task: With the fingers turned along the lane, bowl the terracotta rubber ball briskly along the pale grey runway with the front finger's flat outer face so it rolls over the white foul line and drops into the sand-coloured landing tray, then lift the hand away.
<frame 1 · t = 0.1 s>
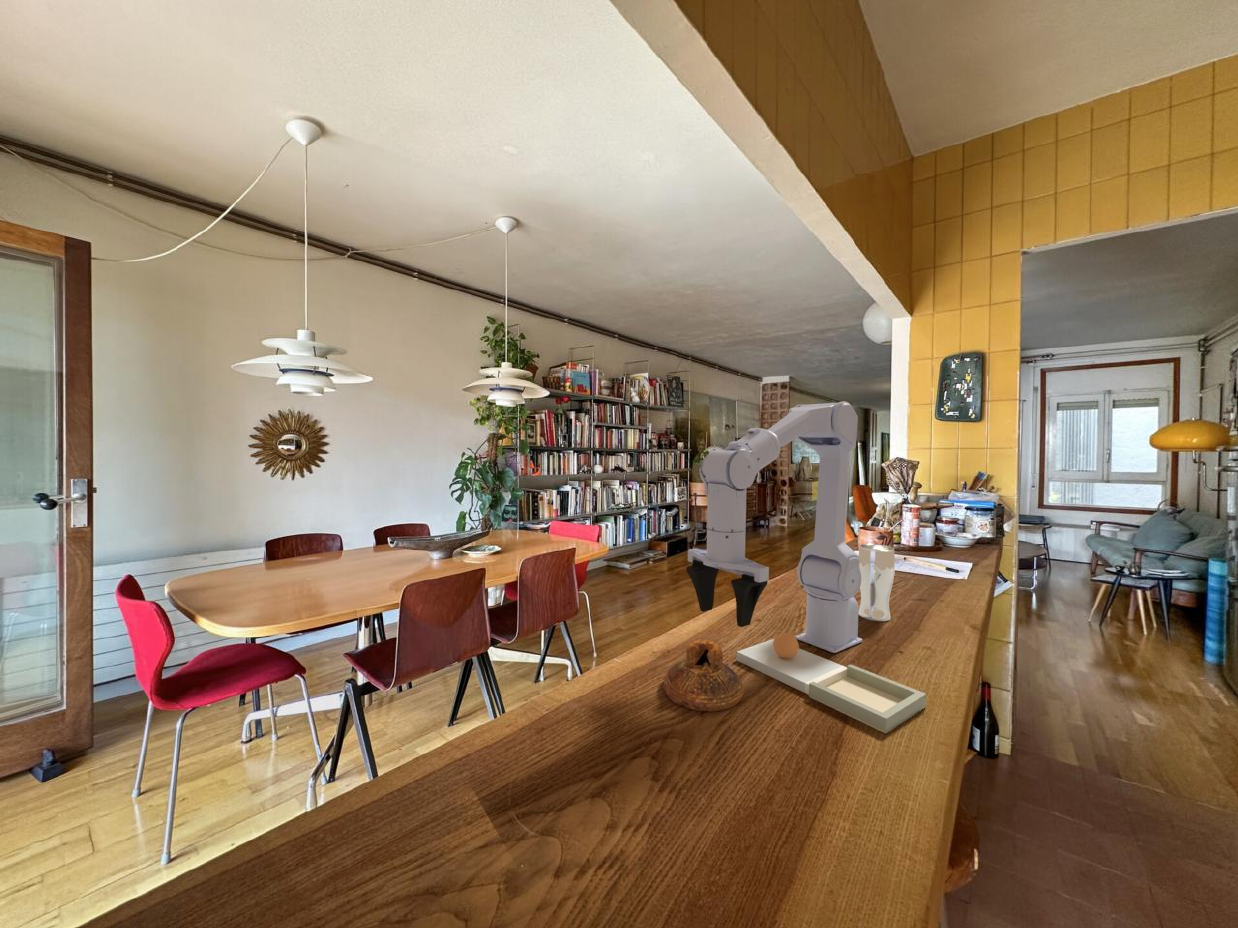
hand: (724, 617, 75), 10 cm above the counter, tool pointing down, fingers open, 7 cm apart
runway: (790, 668, 80), on the counter
bell: (702, 693, 73), on the counter
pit: (866, 702, 70), on the counter
beer glass: (874, 617, 105), on the counter
ball: (785, 645, 81), point 3 cm above the counter, touching runway
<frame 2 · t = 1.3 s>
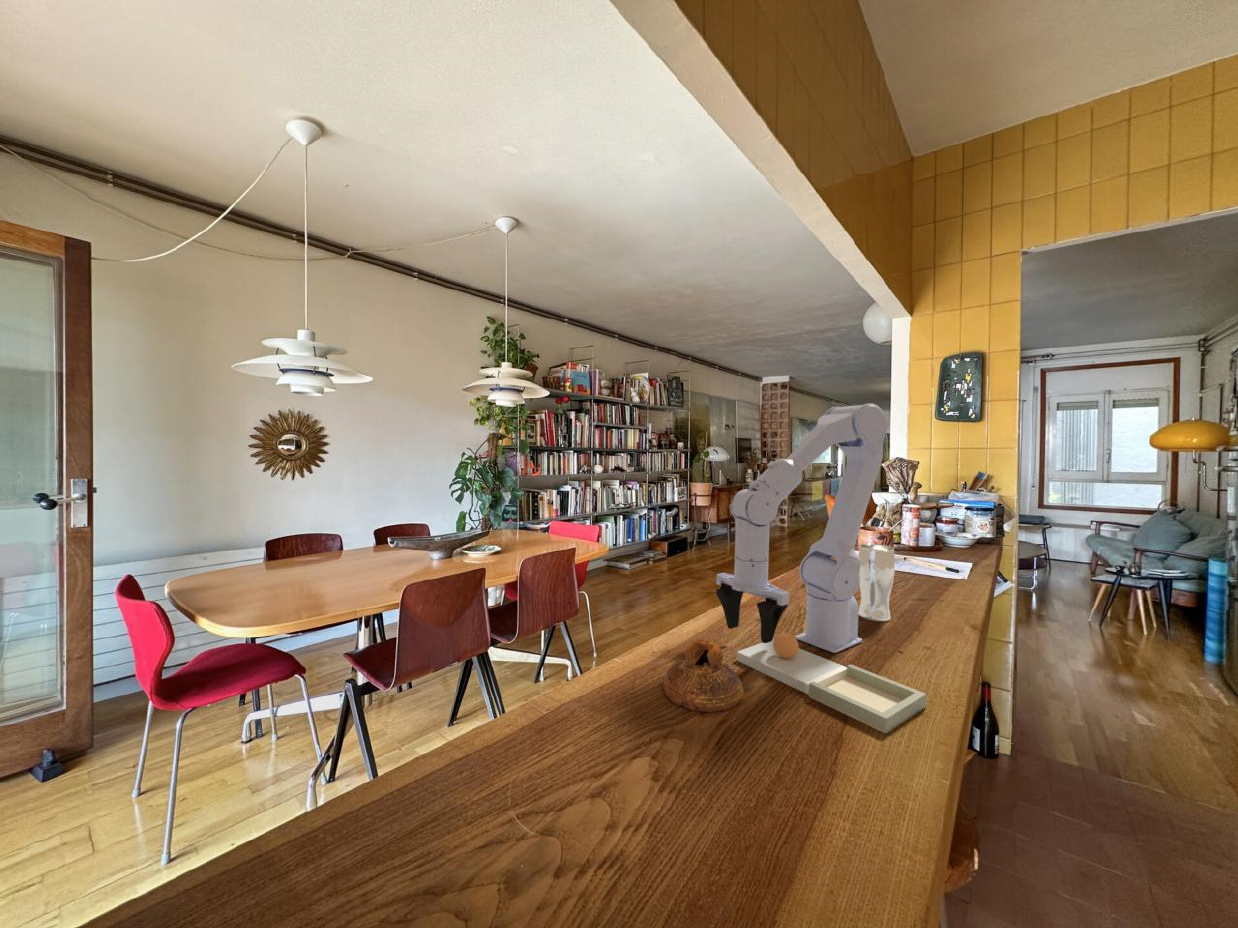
hand: (749, 634, 87), 3 cm above the counter, tool pointing down, fingers open, 7 cm apart
nothing on the counter moved.
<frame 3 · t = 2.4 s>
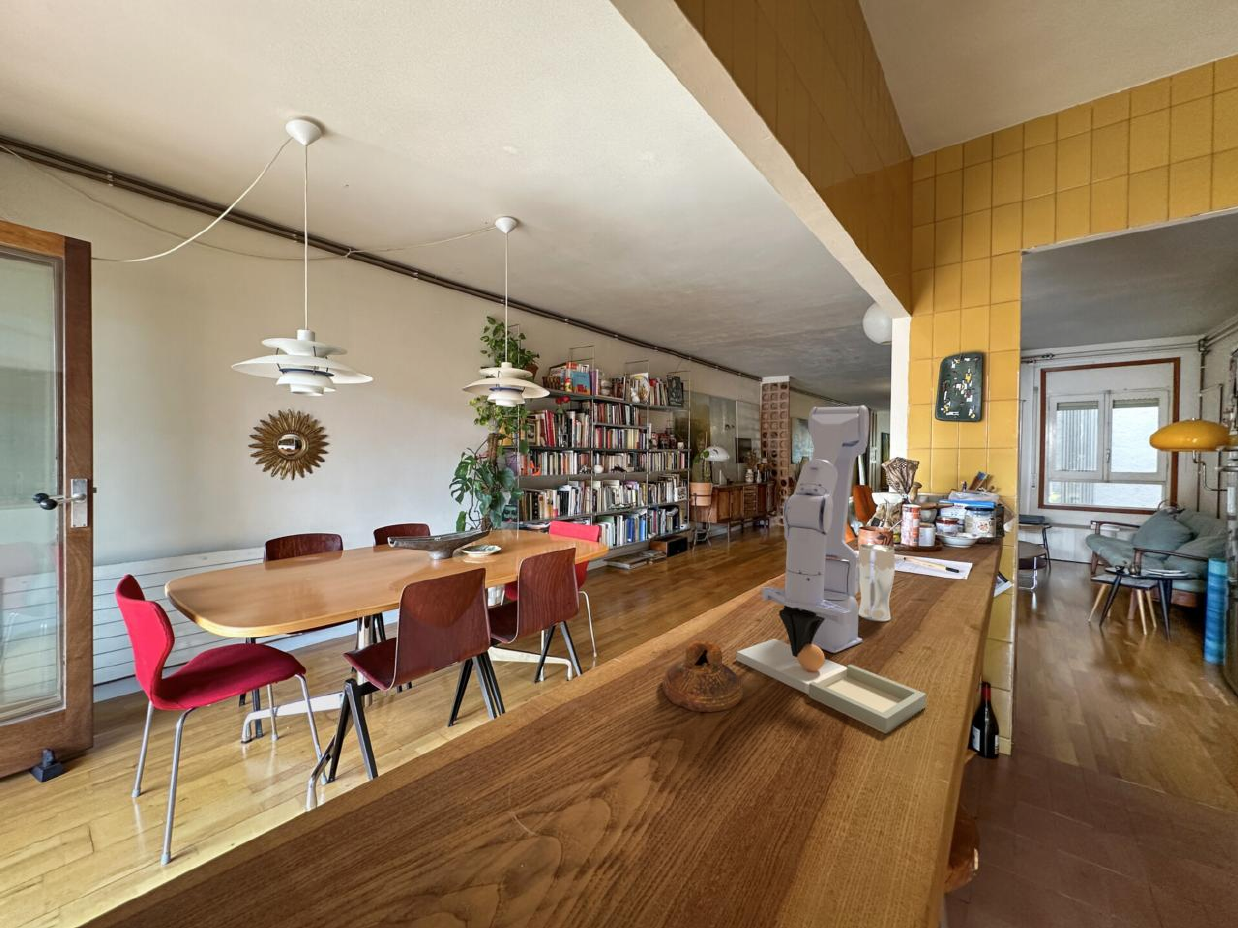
hand: (800, 656, 78), 3 cm above the counter, tool pointing down, fingers closed, pressing on ball
ball: (810, 657, 77), point 3 cm above the counter, tilted 140°, touching gripper, runway
everything else where it was.
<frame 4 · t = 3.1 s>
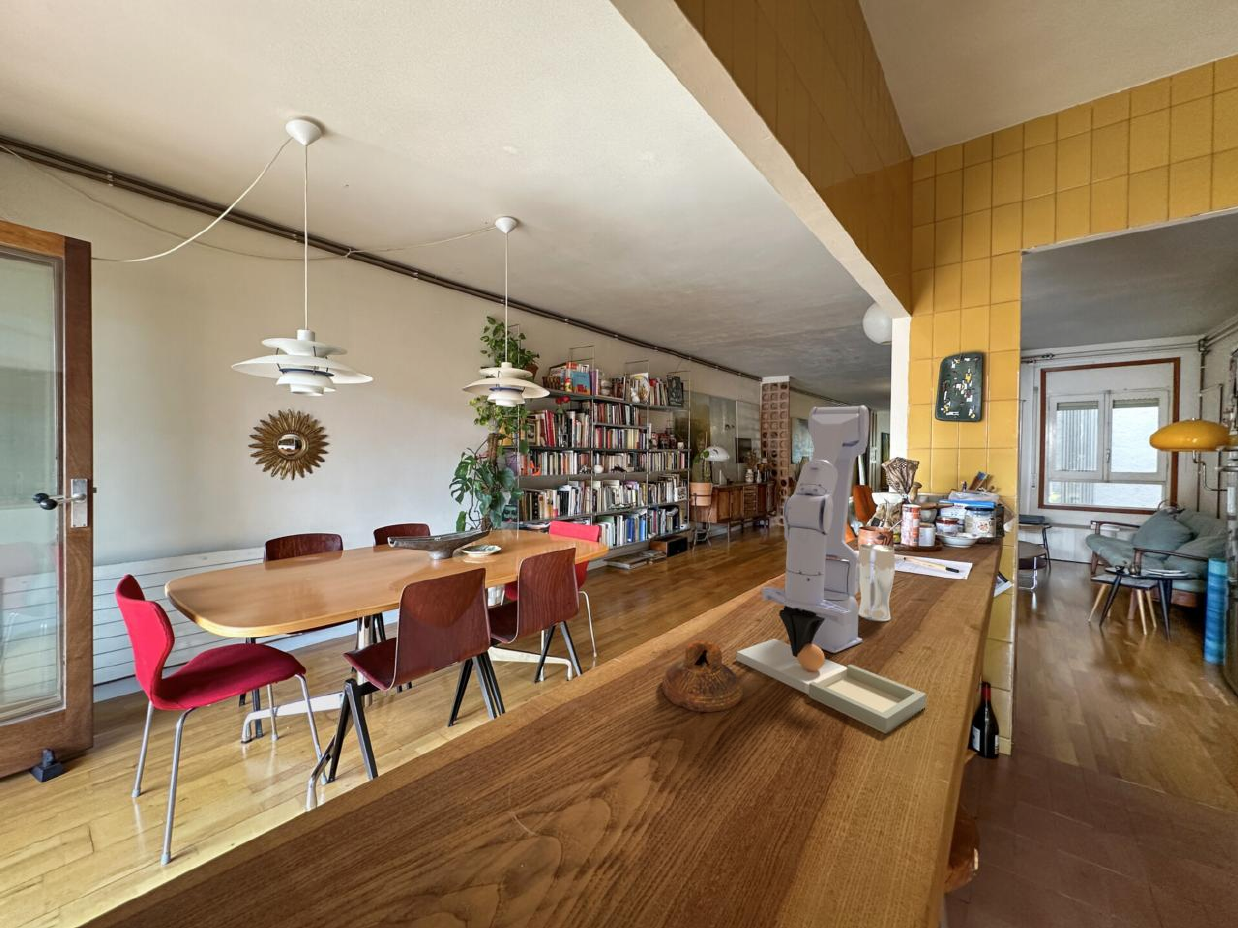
hand: (801, 656, 78), 3 cm above the counter, tool pointing down, fingers closed, pressing on ball
ball: (810, 656, 77), point 3 cm above the counter, tilted 140°, touching gripper, runway
everything else where it was.
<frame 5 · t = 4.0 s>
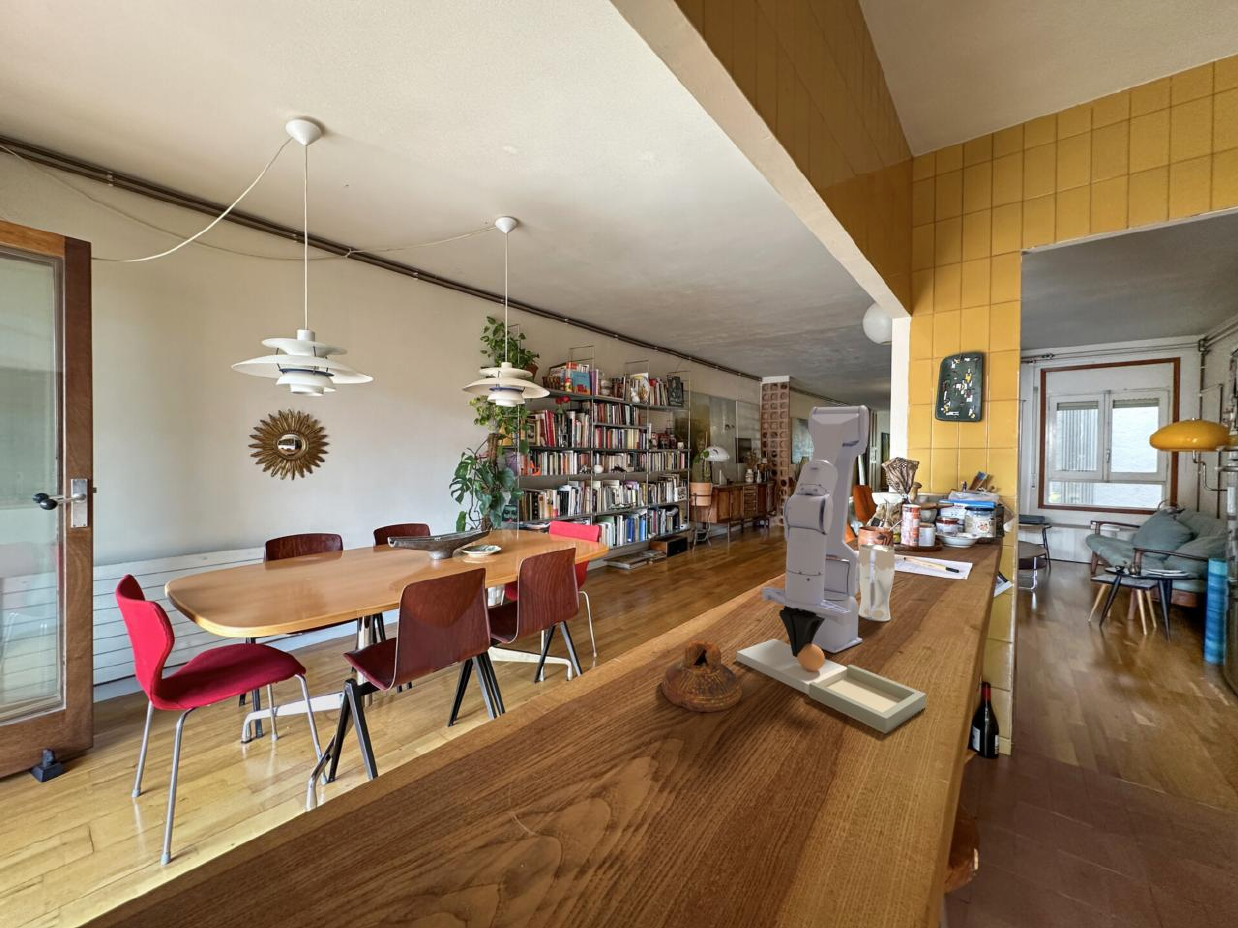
hand: (801, 656, 78), 3 cm above the counter, tool pointing down, fingers closed, pressing on ball
ball: (810, 656, 77), point 3 cm above the counter, tilted 140°, touching gripper, runway
everything else where it was.
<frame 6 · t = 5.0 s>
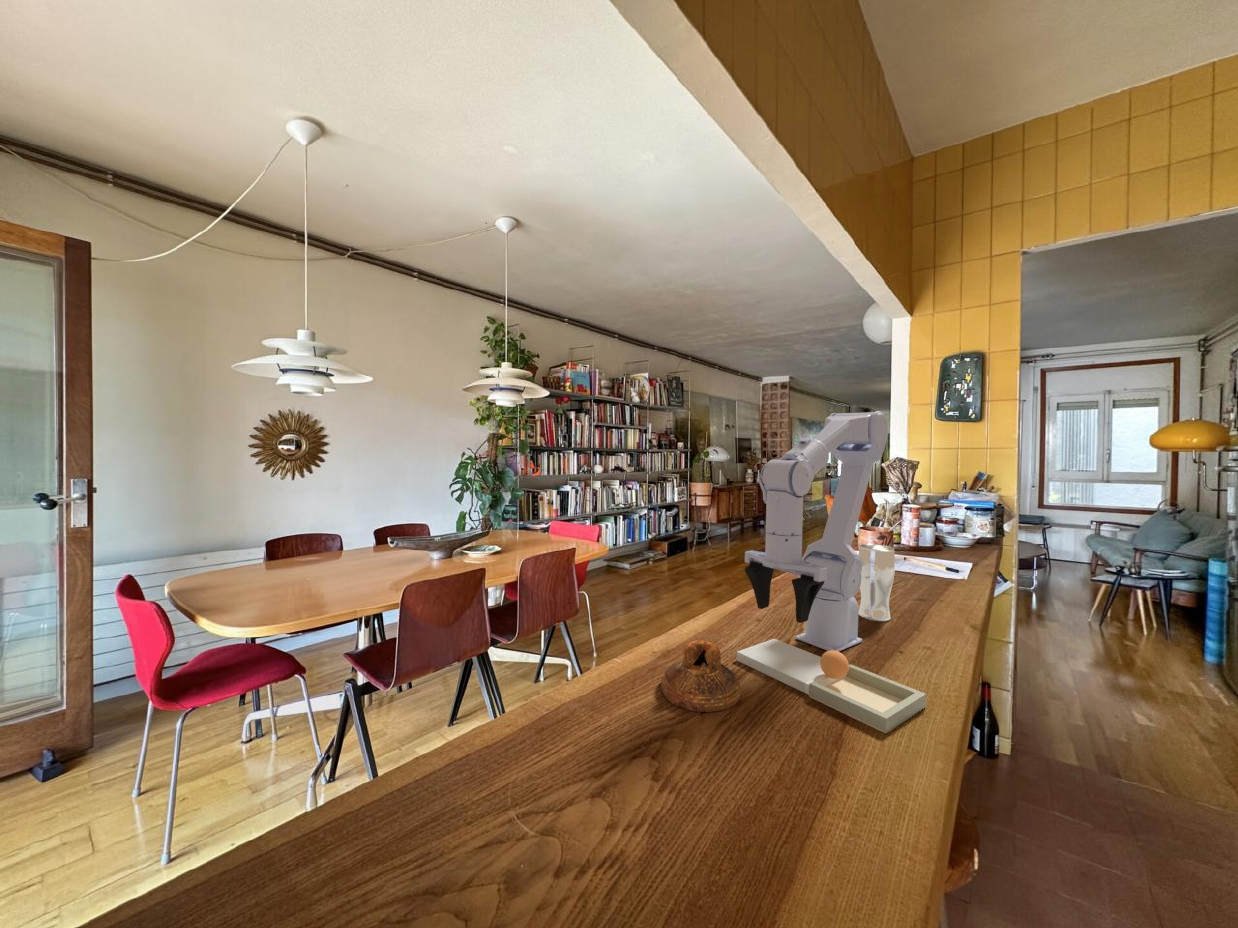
hand: (781, 614, 82), 8 cm above the counter, tool pointing down, fingers open, 7 cm apart
ball: (834, 664, 74), point 3 cm above the counter, tilted 118°, touching runway
everything else where it was.
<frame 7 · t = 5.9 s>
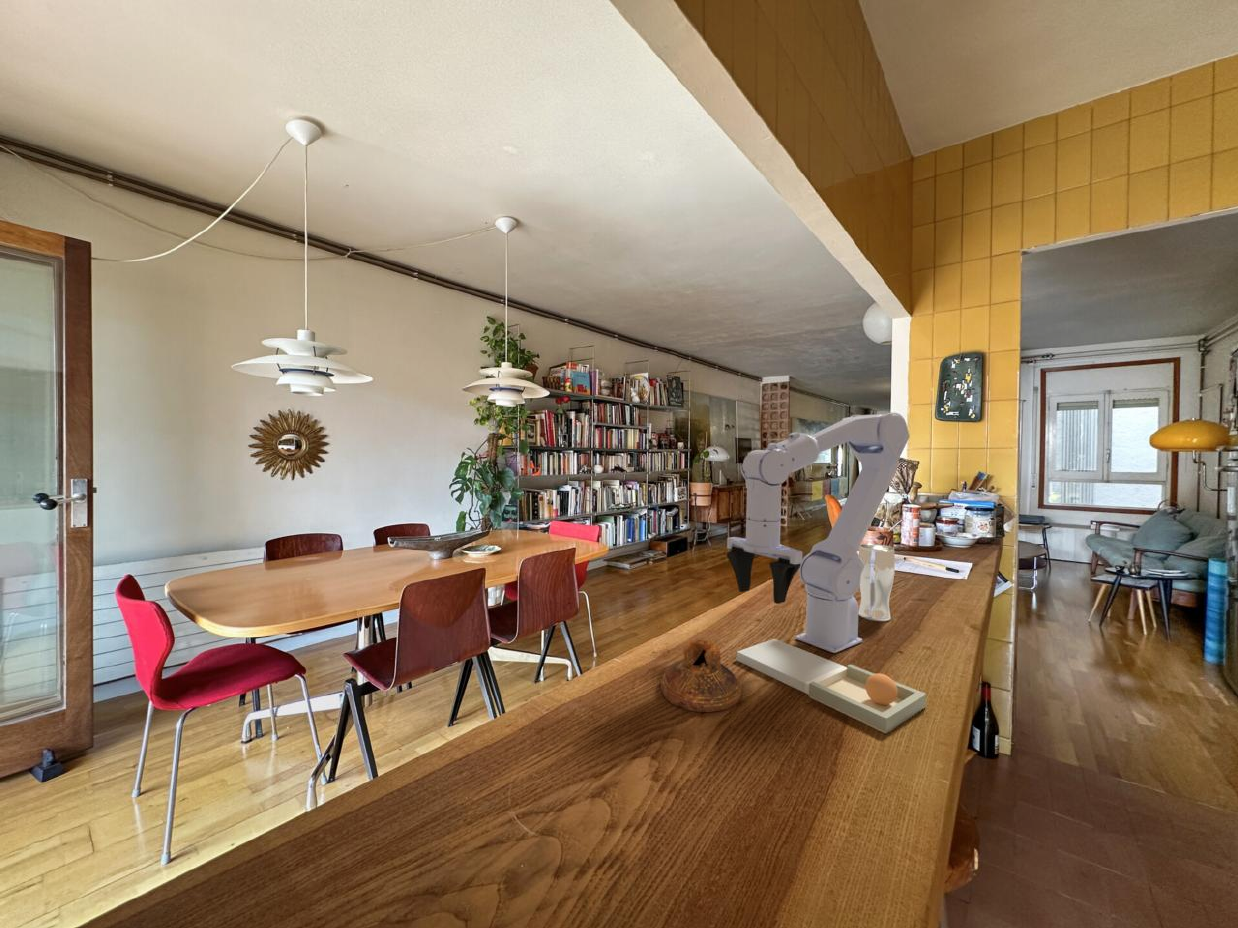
hand: (761, 596, 86), 10 cm above the counter, tool pointing down, fingers open, 7 cm apart
ball: (881, 688, 70), point 2 cm above the counter, tilted 78°, touching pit
everything else where it was.
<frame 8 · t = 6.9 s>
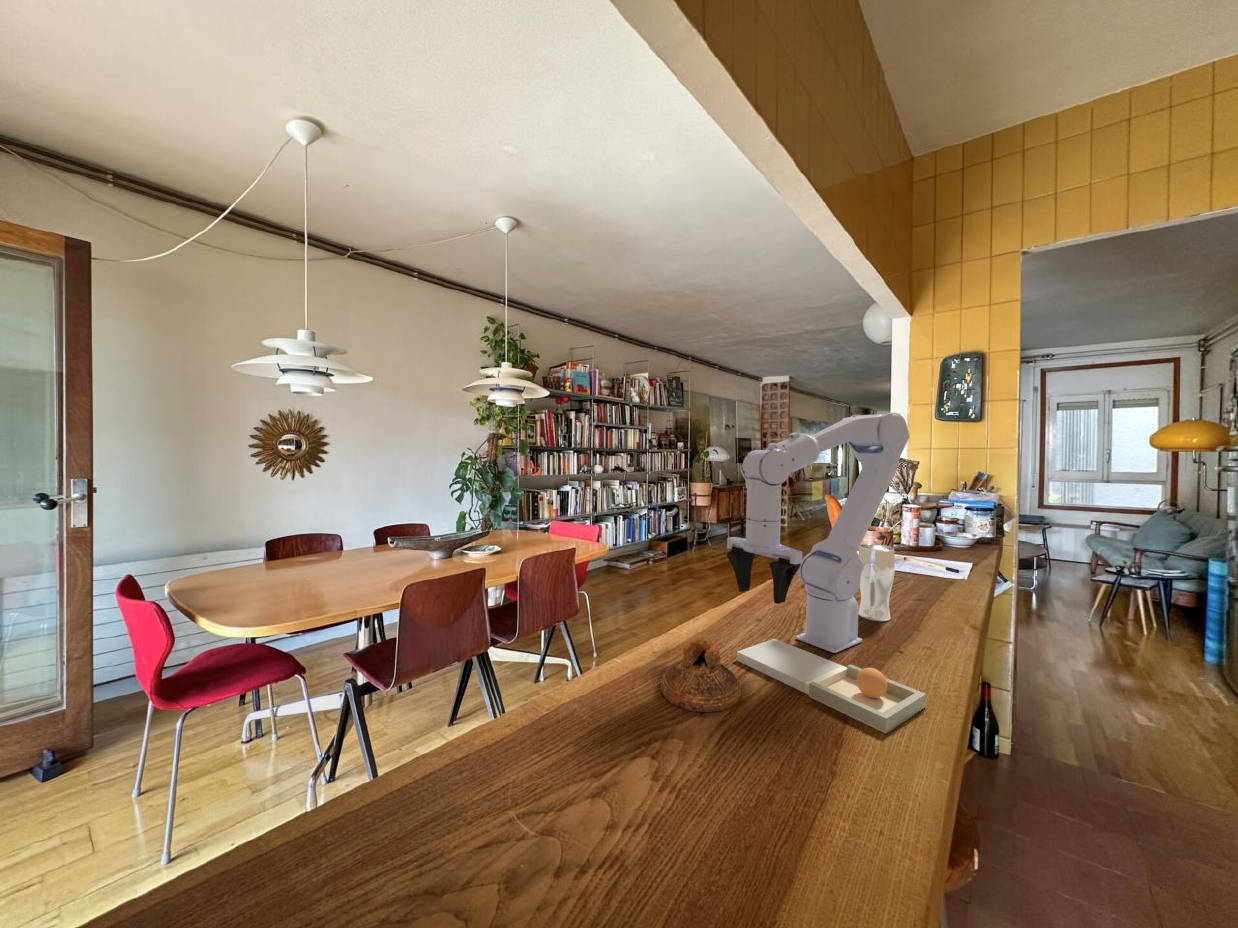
hand: (761, 596, 86), 10 cm above the counter, tool pointing down, fingers open, 7 cm apart
ball: (871, 682, 71), point 2 cm above the counter, tilted 25°, touching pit
everything else where it was.
at the end: ball inside the target area (1.8 cm from its centre), point 2.3 cm above the counter; the gripper is holding nothing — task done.
